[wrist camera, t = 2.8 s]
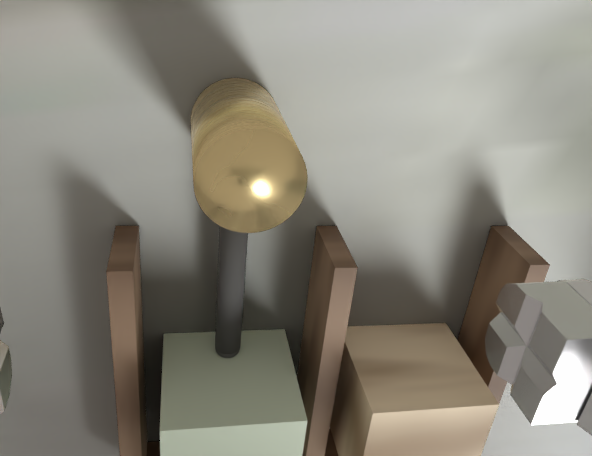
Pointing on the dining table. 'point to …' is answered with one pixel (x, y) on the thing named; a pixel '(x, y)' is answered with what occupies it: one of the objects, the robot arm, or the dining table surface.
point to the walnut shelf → (317, 327)
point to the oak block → (409, 394)
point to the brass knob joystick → (236, 287)
